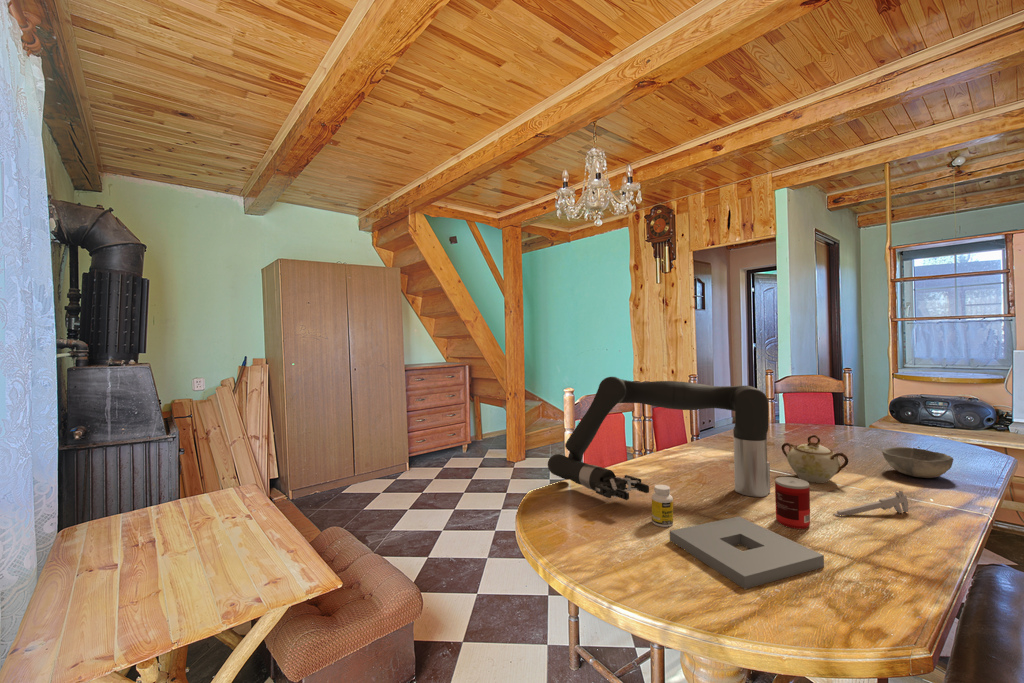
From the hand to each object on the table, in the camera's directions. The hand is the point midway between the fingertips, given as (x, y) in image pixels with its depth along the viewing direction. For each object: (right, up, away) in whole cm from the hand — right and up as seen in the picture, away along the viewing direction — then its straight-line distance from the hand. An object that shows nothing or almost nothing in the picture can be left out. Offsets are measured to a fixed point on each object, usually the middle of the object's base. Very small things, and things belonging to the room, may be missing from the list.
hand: (638, 492), depth 123 cm
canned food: (+38, -5, -9) cm, 39 cm away
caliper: (+62, -5, -4) cm, 62 cm away
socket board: (+17, -6, -23) cm, 29 cm away
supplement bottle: (+5, -6, -7) cm, 10 cm away
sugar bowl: (+67, -4, +25) cm, 71 cm away
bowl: (+102, -3, +26) cm, 106 cm away
